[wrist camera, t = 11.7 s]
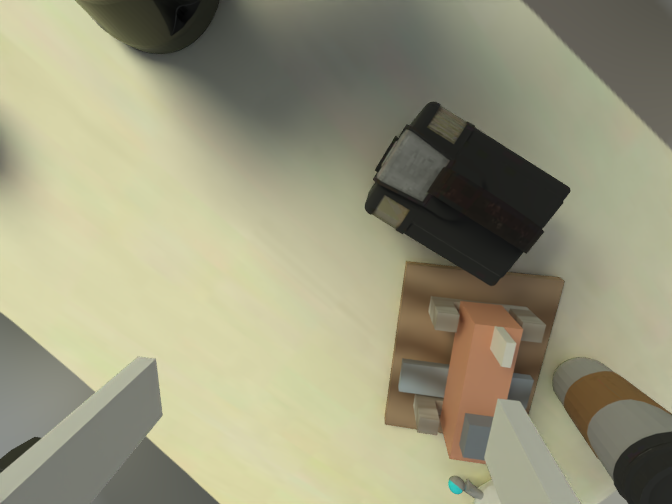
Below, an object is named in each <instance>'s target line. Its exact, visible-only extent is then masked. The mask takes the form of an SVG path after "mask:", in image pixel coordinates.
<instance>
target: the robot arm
mask: <svg viewBox="0 0 672 504" xmlns="http://www.w3.org/2000/svg"><path fill="white" fill-rule="evenodd" d="M75 1H76V2H77V3H78V4H79V5H80V6H81V7H82V8H83V9H84V10H85V11H86V12H87V13H88V14H89V15H90V16H91V17H92V19H93V20H94V21H95V22H96V23H97V24H98V25H99V26H100V27H101V28H102V29H103V30H105V31H106V32H107V33H109V34H110V35H111V36H113V37H114V38H116V39H118V40H120V41H122V42H124V43H126V44H128V45H130V46H132V47H134V48H136V49H138V50H141V51H144V52H149V53H156V54H163V53H171V52H174V51H178V50H180V49H182V48H185V47H186V46H188V45H190V44H191V43H192V42H194V41H195V40H196V39H197V38H198V37H199V36H200V35H201V34H202V33H203V32H204V31H205V29H206V28H207V27H208V25H209V23H210V22H211V20H212V18H213V16H214V14H215V11H216V9H217V6H218V3H219V0H75ZM161 417H162V406H161V398H160V389H159V381H158V372H157V364H156V359H154V358H146V357H137V358H136V359H134V360H133V361H132V362H131V363H130V364H128V365H127V366H126V367H125V368H124V369H123V370H121V371H120V372H119V373H118V374H117V375H116V376H114V377H113V378H112V379H111V380H110V381H108V382H107V383H106V384H105V385H104V386H103V387H101V388H100V389H99V390H98V391H97V392H96V393H94V394H93V395H92V396H91V397H90V398H88V399H87V400H86V401H85V402H84V403H83V404H81V405H80V406H79V407H78V408H77V409H76V410H75V411H73V412H72V413H71V414H70V415H68V416H67V417H66V418H65V419H64V420H63V421H61V422H60V423H59V424H58V425H57V426H55V427H54V428H53V429H52V430H51V431H50V432H48V433H47V434H46V435H45V436H44V437H43V438H38V437H34V438H32V439H30V440H28V441H27V442H25V443H23V444H21V445H20V446H18V447H16V448H14V449H12V450H11V451H10V452H8V453H7V454H6V455H5V456H3V457H2V458H1V459H0V504H91V502H92V501H93V500H94V499H95V498H96V496H97V495H98V494H99V493H100V491H101V490H102V489H103V488H104V486H105V485H106V484H107V483H108V481H109V480H110V479H111V478H112V477H113V475H114V474H115V473H116V472H117V471H118V469H119V468H120V467H121V466H122V464H123V463H124V462H125V461H126V460H127V458H128V457H129V456H130V455H131V453H132V452H133V451H134V450H135V448H136V447H137V446H138V445H139V444H140V442H141V441H142V440H143V439H144V437H145V436H146V435H147V434H148V433H149V431H150V430H151V429H152V428H153V426H154V425H155V424H156V423H157V422H158V420H159V419H160V418H161ZM484 459H485V462H486V464H487V467H488V470H489V473H490V475H491V478H492V481H493V484H494V486H495V489H496V492H497V495H498V497H499V500H500V503H501V504H581V503H580V501H579V499H578V498H577V496H576V494H575V493H574V491H573V489H572V488H571V486H570V484H569V483H568V481H567V479H566V478H565V476H564V474H563V473H562V471H561V469H560V468H559V466H558V464H557V463H556V461H555V459H554V458H553V456H552V454H551V453H550V451H549V449H548V447H547V446H546V444H545V442H544V441H543V439H542V437H541V436H540V434H539V432H538V431H537V429H536V427H535V426H534V424H533V422H532V421H531V419H530V417H529V416H528V414H527V412H526V411H525V409H524V407H523V406H522V404H521V402H520V401H515V400H506V399H498V400H497V404H496V408H495V413H494V417H493V422H492V426H491V430H490V435H489V439H488V443H487V448H486V452H485V456H484Z"/></svg>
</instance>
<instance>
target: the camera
mask: <svg viewBox="0 0 672 504" xmlns="http://www.w3.org/2000/svg"><path fill="white" fill-rule="evenodd" d="M375 171H377V174H376V175H375V177H374V179H373V180H374V181H375V183H374V185H373V187H372V188H371V190H370V191H369V194H368V197H367V200H366V203H365V209H366V211H367V212H368V213H369V214H372V215H374V216H376V217H377V218H379V219H380V220H382V221H384V222H385V223H387V224H389V225H390V226H392V227H394V228H395V229H396V230H397V231H398V232H400V233H402V234H403V233H405V234H406V235H408V236H409V237H411V238H413V239H414V240H416V241H418V242H419V243H421V244H423V245H424V246H426V247H427V248H429V249H431V250H432V251H434V252H436V253H437V254H439V255H440V256H442V257H444V258H445V259H447V260H449V261H450V262H452V263H454V264H455V265H457V266H458V267H460V268H462V269H463V270H465V271H467V272H468V273H470V274H472V275H473V276H475V277H476V278H478V279H480V280H481V281H483V282H485V283H486V284H488V285H489V286H494V285H496V284H497V282H498V281H499V280H500V279H501V277H502V278H503V277H504V276H505V274H506V273H507V272H508V271H509V269H510V268H511V267H512V266H513V264H514V263H515V262H516V261H517V259H518V258H519V257H520V256H521V254H522V253H523V252H524V253H526V254H527V252H528V251H529V250H530V249H531V247H532V246H533V245H534V244H535V243H536V241H537V240H538V239H539V238H540V236H541V235H542V234H543V233H544V231H543V230H542V229H543V227H544V226H545V225H546V224H547V222H548V221H549V220H550V219H551V217H552V216H553V215H554V214H555V212H556V211H557V210H558V209H559V207H560V206H561V205H562V204H563V203H564V202H563V200H564V199H565V198H566V197H567V195H568V194H569V193H570V188H569V187H568V186H566V185H565V184H563V183H562V182H560V181H559V180H557V179H555V178H554V177H552V176H551V175H549V174H547V173H546V172H544V171H543V170H541V169H540V168H538V167H536V166H535V165H533V164H532V163H530V162H528V161H527V160H525V159H524V158H522V157H521V156H519V155H517V154H516V153H514V152H513V151H511V150H509V149H508V148H506V147H505V146H503V145H501V144H500V143H498V142H497V141H495V140H494V139H492V138H490V137H489V136H487V135H486V134H484V133H482V132H481V131H479V130H478V129H476V128H475V126H474V125H472V124H471V123H469V122H465V121H464V120H462V119H461V118H459V117H457V116H456V115H454V114H453V113H451V112H449V111H448V110H446V109H445V108H443V107H441V106H440V104H439V103H437V102H430V103H428V104H427V105H426V106H425V107H424V108H423V110H422V111H421V112H420V113H419V115H418V116H417V117H416V118H415V119H414V121H413V122H412V123H411V125H406V126H405V128H404V129H403V131H402V133H401V134H400V136H399V138H398V137H396V136H395V138H394V139H393V141H392V143H391V144H390V146H389V148H388V149H387V151H386V153H385V154H384V156H383V158H382V159H381V161H380V162H379V164H378V166H377V167H376V169H375Z"/></svg>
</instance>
